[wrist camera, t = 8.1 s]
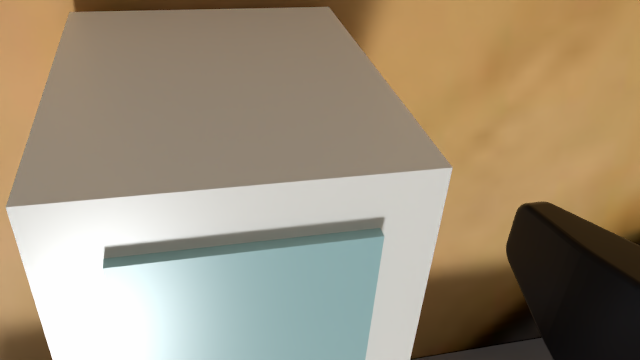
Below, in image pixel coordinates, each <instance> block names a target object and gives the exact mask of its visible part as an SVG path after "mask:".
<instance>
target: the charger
mask: <svg viewBox="0 0 640 360" xmlns="http://www.w3.org/2000/svg"><path fill="white" fill-rule="evenodd" d="M451 173H452V166H451V165H450V164H449V162H448V161H447V160H446V158H445V157H444V156H443V155H442V153H441V152H440V151H439V149H438V148H437V147H436V145H435V144H434V143H433V142H432V140H431V139H430V138H429V136H428V135H427V134H426V132H425V131H424V130H423V129H422V127H421V126H420V125H419V123H418V122H417V121H416V119H415V118H414V117H413V116H412V114H411V113H410V112H409V110H408V109H407V108H406V106H405V105H404V104H403V103H402V101H401V100H400V99H399V97H398V96H397V95H396V93H395V92H394V91H393V90H392V88H391V87H390V86H389V84H388V83H387V82H386V80H385V79H384V78H383V77H382V75H381V74H380V73H379V71H378V70H377V69H376V67H375V66H374V65H373V64H372V62H371V61H370V60H369V58H368V57H367V56H366V54H365V53H364V52H363V51H362V49H361V48H360V47H359V45H358V44H357V43H356V41H355V40H354V39H353V38H352V36H351V35H350V34H349V32H348V31H347V30H346V28H345V27H344V26H343V25H342V23H341V22H340V21H339V19H338V18H337V17H336V15H335V14H334V13H333V12H332V10H331V9H330V8H329V7H296V8H246V9H196V10H145V11H95V12H69V15H68V18H67V21H66V24H65V27H64V30H63V33H62V36H61V39H60V42H59V46H58V49H57V52H56V55H55V58H54V61H53V64H52V67H51V70H50V73H49V76H48V79H47V82H46V85H45V89H44V92H43V95H42V98H41V101H40V104H39V107H38V110H37V113H36V116H35V119H34V122H33V125H32V128H31V131H30V135H29V138H28V141H27V144H26V147H25V150H24V153H23V156H22V159H21V162H20V165H19V168H18V171H17V174H16V178H15V181H14V184H13V187H12V190H11V193H10V196H9V199H8V202H7V205H6V210H7V213H8V216H9V219H10V223H11V226H12V229H13V232H14V236H15V239H16V242H17V245H18V249H19V252H20V255H21V258H22V262H23V265H24V268H25V271H26V275H27V278H28V281H29V284H30V288H31V291H32V294H33V297H34V301H35V304H36V307H37V311H38V314H39V317H40V320H41V324H42V327H43V330H44V333H45V337H46V340H47V343H48V346H49V350H50V353H51V356H52V359H53V360H410V358H411V353H412V349H413V344H414V340H415V335H416V331H417V326H418V322H419V317H420V313H421V308H422V304H423V299H424V295H425V290H426V286H427V281H428V276H429V272H430V267H431V263H432V258H433V254H434V249H435V245H436V240H437V236H438V231H439V227H440V222H441V218H442V213H443V209H444V204H445V200H446V195H447V191H448V186H449V182H450V177H451Z"/></svg>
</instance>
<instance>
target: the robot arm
mask: <svg viewBox="0 0 640 360" xmlns="http://www.w3.org/2000/svg"><path fill="white" fill-rule="evenodd" d="M506 253H507V258H508V261H509V263H510V266H511V268H512V270H513V272H514V275H515V277H516V279H517V282H518V284H519V286H520V289H521V291H522V293H523V296H524V298H525V300H526V303H527V305H528V307H529V309H530V312H531V314H532V316H533V319H534V321H535V323H536V326H537V328H538V330H539V332H540V334H541V336H542V339H543V341H544V343H545V345H546V347H547V349H548V350H549V352H550V354H551V356H552V358H553V360H640V246H639V245H637V244H635V243H633V242H631V241H629V240H627V239H625V238H622V237H620V236H618V235H616V234H614V233H612V232H610V231H608V230H606V229H604V228H601V227H599V226H597V225H595V224H593V223H591V222H589V221H587V220H585V219H583V218H581V217H578V216H576V215H574V214H572V213H570V212H568V211H566V210H564V209H562V208H560V207H557V206H555V205H553V204H551V203H549V202H534V203H525V204H523V205H521V206H520V207H519V208H518V209H517V212H516V215H515V218H514V221H513V225H512V228H511V231H510V234H509V237H508V241H507V245H506Z"/></svg>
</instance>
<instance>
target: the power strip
mask: <svg viewBox="0 0 640 360" xmlns="http://www.w3.org/2000/svg"><path fill="white" fill-rule="evenodd" d="M412 360H553V358H552V356H551V354H550V352H549V350H548V349H547V347H546V345H545V343H544V341H543V339H542V338H538V339H532V340H526V341H520V342H514V343H508V344H502V345H496V346H490V347H484V348H478V349H472V350H466V351H460V352H454V353H448V354H442V355H436V356H430V357H424V358H418V359H412Z"/></svg>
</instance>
